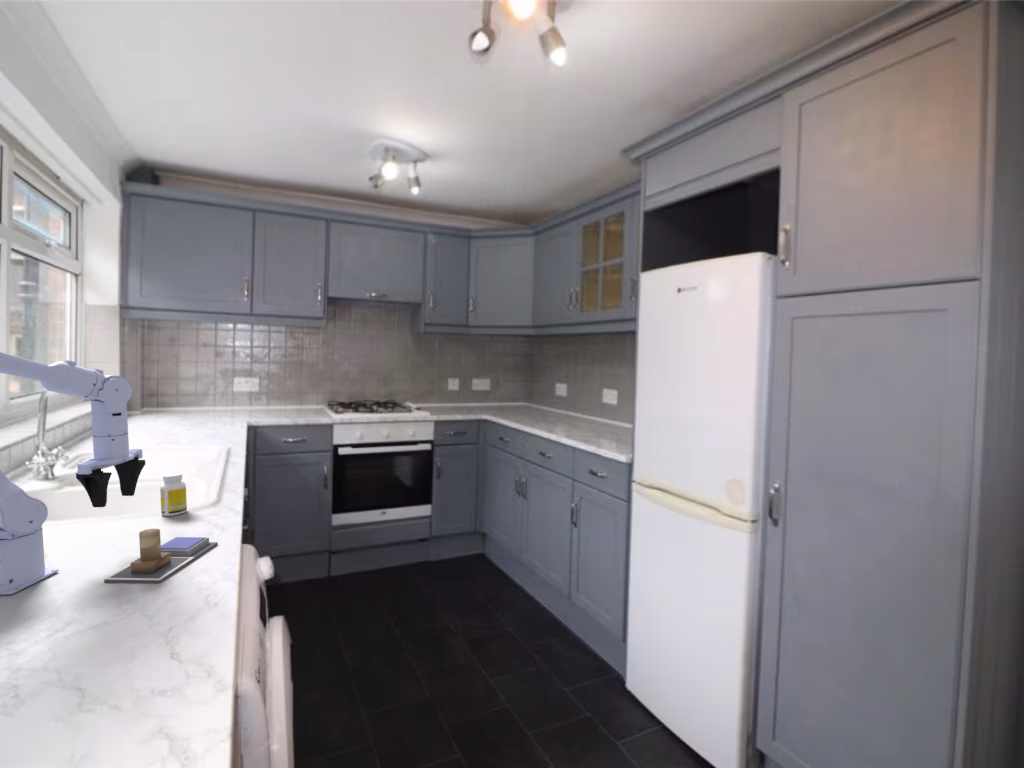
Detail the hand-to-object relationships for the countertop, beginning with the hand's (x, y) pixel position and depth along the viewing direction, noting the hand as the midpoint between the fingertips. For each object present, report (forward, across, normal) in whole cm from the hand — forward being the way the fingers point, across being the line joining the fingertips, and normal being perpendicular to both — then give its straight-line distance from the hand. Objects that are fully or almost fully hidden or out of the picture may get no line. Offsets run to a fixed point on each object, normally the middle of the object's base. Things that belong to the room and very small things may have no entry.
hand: (114, 500), depth 108 cm
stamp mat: (+10, -5, -14) cm, 18 cm away
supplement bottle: (+11, +24, +4) cm, 27 cm away
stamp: (+10, -9, -14) cm, 19 cm away
